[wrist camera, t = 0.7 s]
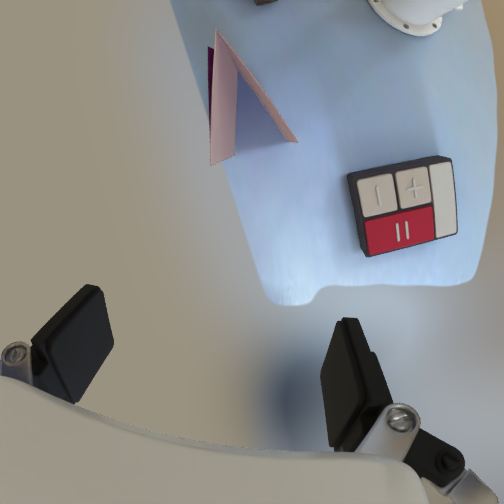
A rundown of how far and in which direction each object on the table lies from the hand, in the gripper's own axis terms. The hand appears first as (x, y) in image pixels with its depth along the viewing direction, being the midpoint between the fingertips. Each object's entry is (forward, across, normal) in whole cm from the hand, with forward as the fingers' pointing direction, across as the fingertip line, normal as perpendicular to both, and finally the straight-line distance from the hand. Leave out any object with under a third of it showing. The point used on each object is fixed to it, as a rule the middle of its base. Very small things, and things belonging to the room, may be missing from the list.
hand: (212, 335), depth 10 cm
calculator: (+28, -20, -2) cm, 35 cm away
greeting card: (+28, 0, -10) cm, 30 cm away
